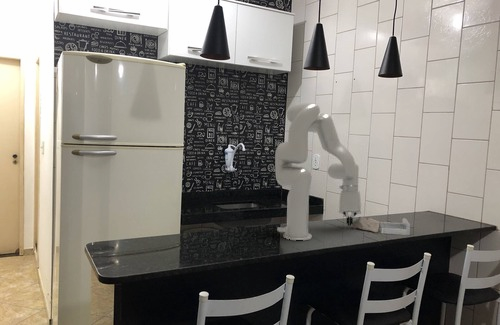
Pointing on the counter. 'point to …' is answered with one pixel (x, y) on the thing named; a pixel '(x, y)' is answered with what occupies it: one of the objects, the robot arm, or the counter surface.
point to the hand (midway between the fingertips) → (349, 225)
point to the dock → (391, 227)
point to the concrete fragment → (367, 224)
